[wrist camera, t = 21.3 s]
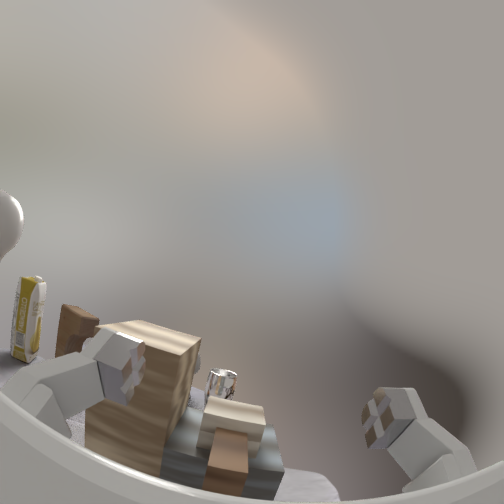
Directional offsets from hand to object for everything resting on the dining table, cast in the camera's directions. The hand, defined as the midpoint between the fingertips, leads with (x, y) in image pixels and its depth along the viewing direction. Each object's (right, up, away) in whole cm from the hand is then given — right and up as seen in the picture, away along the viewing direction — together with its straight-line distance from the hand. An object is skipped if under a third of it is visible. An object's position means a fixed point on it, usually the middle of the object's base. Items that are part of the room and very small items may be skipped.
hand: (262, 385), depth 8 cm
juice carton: (-64, -25, +45) cm, 82 cm away
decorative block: (-46, -29, +45) cm, 71 cm away
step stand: (-12, -32, +19) cm, 39 cm away
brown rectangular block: (-3, -19, +17) cm, 25 cm away
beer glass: (-10, -38, +50) cm, 64 cm away
